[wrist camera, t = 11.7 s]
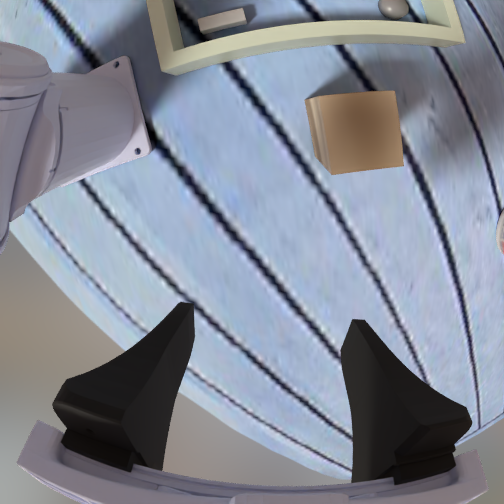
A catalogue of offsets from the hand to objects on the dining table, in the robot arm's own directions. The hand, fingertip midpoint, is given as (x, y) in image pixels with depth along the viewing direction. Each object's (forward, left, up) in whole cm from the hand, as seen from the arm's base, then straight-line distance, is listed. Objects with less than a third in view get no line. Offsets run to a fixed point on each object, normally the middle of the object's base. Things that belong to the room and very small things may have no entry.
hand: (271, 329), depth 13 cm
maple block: (+6, +7, -10) cm, 14 cm away
